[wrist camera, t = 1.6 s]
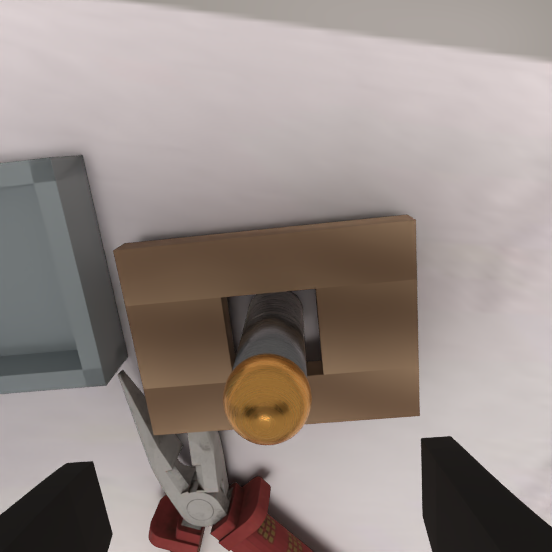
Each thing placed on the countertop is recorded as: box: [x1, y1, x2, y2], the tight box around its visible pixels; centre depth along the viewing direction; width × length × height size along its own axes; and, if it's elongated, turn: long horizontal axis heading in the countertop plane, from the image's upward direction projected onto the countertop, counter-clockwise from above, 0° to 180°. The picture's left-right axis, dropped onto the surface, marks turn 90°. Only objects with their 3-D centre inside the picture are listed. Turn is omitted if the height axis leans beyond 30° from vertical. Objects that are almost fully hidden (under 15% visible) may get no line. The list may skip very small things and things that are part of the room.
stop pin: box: [223, 291, 312, 445], centre depth 16 cm, size 3×3×8 cm
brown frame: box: [113, 215, 420, 435], centre depth 18 cm, size 8×11×2 cm
